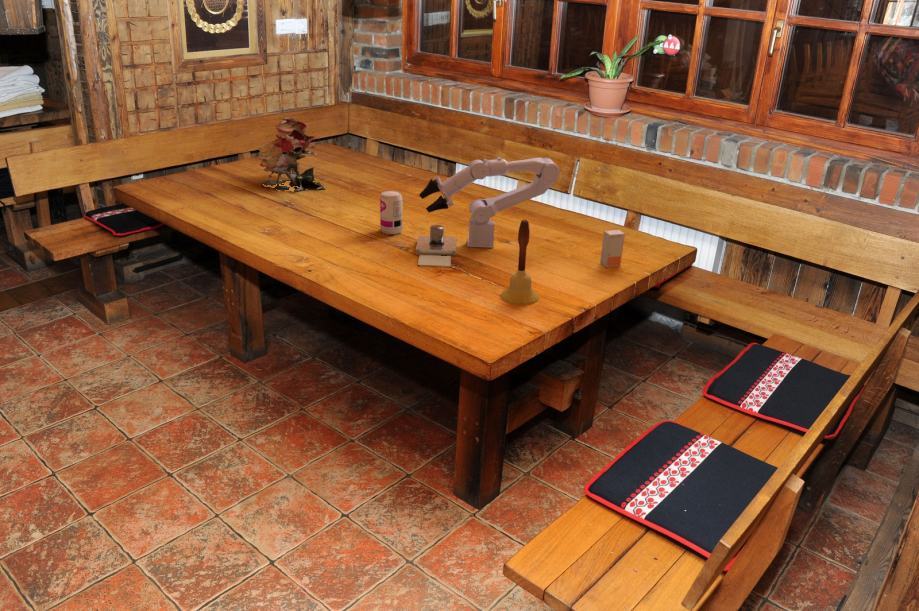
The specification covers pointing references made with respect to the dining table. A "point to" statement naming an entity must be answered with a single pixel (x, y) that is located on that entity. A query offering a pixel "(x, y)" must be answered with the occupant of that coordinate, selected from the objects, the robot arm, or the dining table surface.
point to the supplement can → (391, 212)
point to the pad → (434, 260)
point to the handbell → (521, 274)
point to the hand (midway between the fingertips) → (423, 203)
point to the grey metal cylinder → (436, 235)
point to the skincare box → (612, 248)
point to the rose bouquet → (288, 155)
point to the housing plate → (428, 249)
